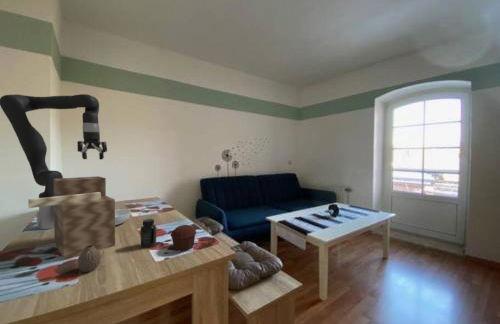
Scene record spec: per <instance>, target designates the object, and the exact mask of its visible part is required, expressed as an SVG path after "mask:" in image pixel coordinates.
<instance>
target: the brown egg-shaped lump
mask: <svg viewBox="0 0 500 324" xmlns="http://www.w3.org/2000/svg"><path fill="white" fill-rule="evenodd" d="M101 260H102V254H101V252H100V250H97V249H96V248H95V247H94V246H93V245H89V246H86V247H85V249H84V250H83V252H82V253H81V254H80V256H78V258H77V264H76V265H77V268H78V270H79V271H81V272H82V273H89V272H93V271H95V270H96V269H97V268H98V267H99V266H100V264H101Z"/></svg>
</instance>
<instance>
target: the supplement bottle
mask: <svg viewBox="0 0 500 324" xmlns="http://www.w3.org/2000/svg"><path fill="white" fill-rule="evenodd" d="M139 230H140V247H142V248H151V247H153V246H156V244H157V225H156V224H155V219H154V218H147V219H143V221H142V226H141V227H140V229H139Z"/></svg>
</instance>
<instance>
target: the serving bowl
mask: <svg viewBox="0 0 500 324" xmlns="http://www.w3.org/2000/svg"><path fill="white" fill-rule="evenodd" d="M131 213H132V211H131V210H130V209H122V208H121V209H115V226H118V225H120V224H122V223H125V222H126V221H128V220H129V218H130V217H131Z"/></svg>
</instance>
